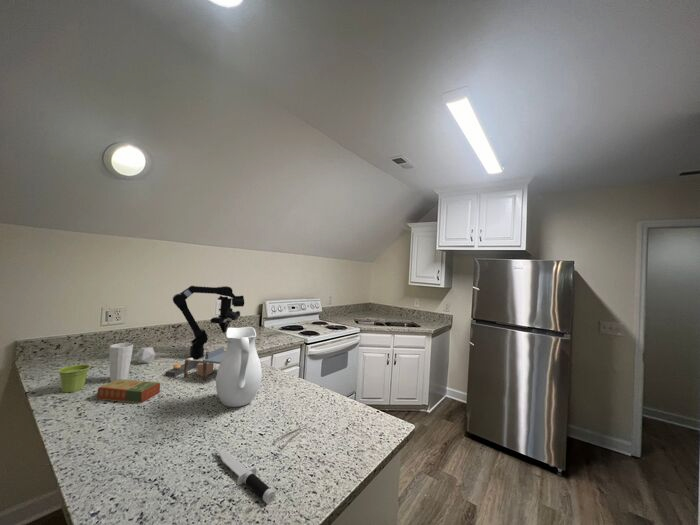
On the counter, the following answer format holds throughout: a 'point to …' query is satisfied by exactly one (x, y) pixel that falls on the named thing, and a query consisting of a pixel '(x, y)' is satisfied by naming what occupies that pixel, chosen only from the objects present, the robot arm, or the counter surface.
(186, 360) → the frame
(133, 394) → the carton
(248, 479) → the knife
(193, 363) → the console
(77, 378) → the plant pot
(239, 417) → the counter surface
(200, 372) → the block
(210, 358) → the lid
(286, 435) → the tweezers
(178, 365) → the orange button
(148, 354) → the die
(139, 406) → the counter surface
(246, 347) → the pitcher
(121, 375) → the cup
